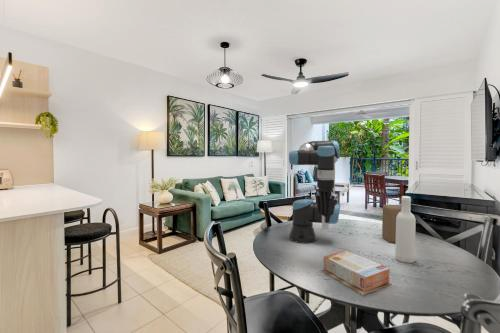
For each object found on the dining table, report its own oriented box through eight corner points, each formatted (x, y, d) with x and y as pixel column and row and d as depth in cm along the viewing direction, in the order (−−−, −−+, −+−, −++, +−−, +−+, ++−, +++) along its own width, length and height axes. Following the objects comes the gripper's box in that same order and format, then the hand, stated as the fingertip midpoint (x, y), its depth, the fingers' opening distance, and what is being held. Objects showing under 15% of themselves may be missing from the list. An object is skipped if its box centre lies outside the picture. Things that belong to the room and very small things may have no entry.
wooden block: (398, 237, 147) (399, 204, 146) (407, 243, 137) (408, 208, 136) (381, 237, 148) (382, 204, 147) (389, 243, 138) (389, 207, 137)
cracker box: (323, 269, 106) (365, 293, 87) (323, 255, 105) (365, 276, 87) (346, 262, 112) (390, 283, 93) (346, 249, 112) (390, 267, 93)
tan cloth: (324, 272, 104) (324, 271, 104) (351, 264, 111) (351, 263, 111) (362, 295, 87) (362, 293, 87) (391, 284, 94) (391, 283, 94)
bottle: (391, 257, 118) (392, 196, 117) (402, 255, 121) (403, 194, 120) (407, 264, 111) (409, 198, 109) (418, 261, 114) (420, 197, 112)
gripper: (309, 178, 117) (309, 226, 119) (329, 180, 106) (329, 234, 107) (321, 177, 121) (321, 224, 122) (342, 179, 109) (341, 231, 110)
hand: (325, 228), depth 115 cm, fingers closed
